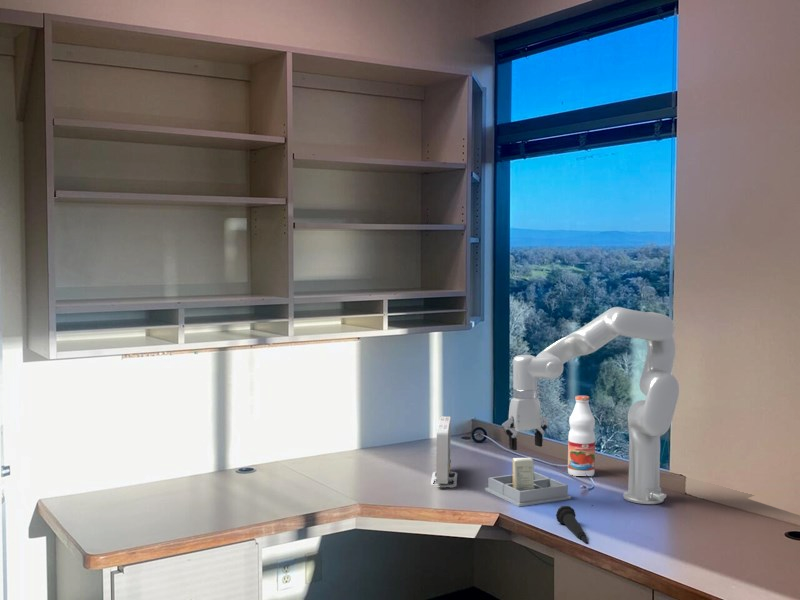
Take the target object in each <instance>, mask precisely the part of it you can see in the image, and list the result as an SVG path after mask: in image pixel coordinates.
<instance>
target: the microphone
mask: <svg viewBox="0 0 800 600" xmlns="http://www.w3.org/2000/svg"><path fill="white" fill-rule="evenodd" d="M555 516H556V520H557V522H558V523H559V524H561V525H565V526H566V527H567V528H568V530H569V531H571V532H572V534H573V535H575V537H576V538H577V539H579V540H580V541H582V542H584V544H586V545H587V544H589V541H588V539H587V535H586V532H585V531H584V529H583V528H582V526H581V525H580V523H579V521H578V520H577V518H576V512H575V509H574V508H572V507H571V506H570V505H561V506H560V507H559V508H558V509H557V511H556V514H555Z"/></svg>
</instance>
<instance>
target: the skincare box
mask: <svg viewBox="0 0 800 600" xmlns="http://www.w3.org/2000/svg"><path fill="white" fill-rule="evenodd" d="M534 467H535V465H534V459H533V457H513V458H512V475H513V488H515V489H517V490H519V491H525V490H532V489H534V472H535V470H534V469H535V468H534Z"/></svg>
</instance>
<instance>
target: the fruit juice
mask: <svg viewBox="0 0 800 600" xmlns="http://www.w3.org/2000/svg"><path fill="white" fill-rule="evenodd" d="M574 399H575V404H574V408H573V410H572V413H571V414H570V416H569V418H568V424H569V431H568V435H567V436H568V438H567V440H568V441H567V473H568V475H569V476H572V475H573V477H576V476H586V474H585V473H587V474H588V475H590V476H591V477H594V476H595V469H596V467H595V466H596V461H595V460H596V434H595V431H594V428H595V426H596V425H595V424H596V419H595V416H594V414H593V413H592V410H591V407H590V404H589V403H590V396H588V395H576V396H575V398H574Z"/></svg>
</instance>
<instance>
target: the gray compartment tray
mask: <svg viewBox="0 0 800 600" xmlns="http://www.w3.org/2000/svg"><path fill="white" fill-rule="evenodd" d="M487 481H488V483H487V484H488V485H487V487H484V490H485V492H488V493H490V494H492V495H494V496H495V497H498V498H500V499H502V500H504V501H506V502H507V503H511V504H512V505H514V506H515V507H526V506H533V505H541V504H546V503H552V502H558V501H565V500H567V501H568V500H571V499H572V496H571V495H569V493H568V492H569V491H568V489H569V486H568V484H566V483H563V482H560V481H558V480H557V479H554V478H551V477H548V476H546V475H543V474H541V473H539V472H536V471H534V489H532V490H525V491H519V490H517V489H515V488H513V474H508V475H506V474H505V475H500V476H492V477H488V479H487Z"/></svg>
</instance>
